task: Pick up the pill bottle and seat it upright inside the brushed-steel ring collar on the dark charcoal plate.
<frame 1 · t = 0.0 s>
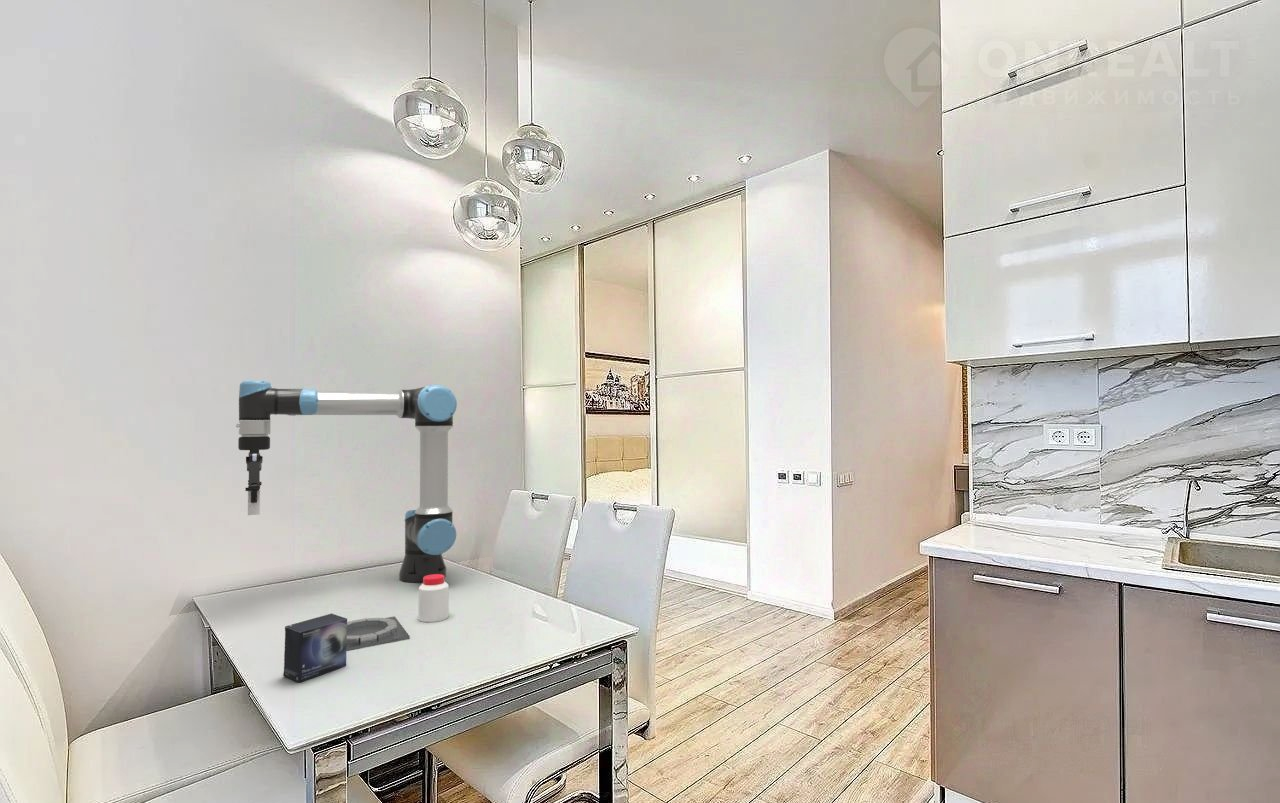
hand: (253, 511, 170), 28 cm above the table, fingers open, 13 cm apart
ring seat: (363, 635, 151), on the table
pill bottle: (433, 618, 164), on the table
small box: (315, 672, 129), on the table
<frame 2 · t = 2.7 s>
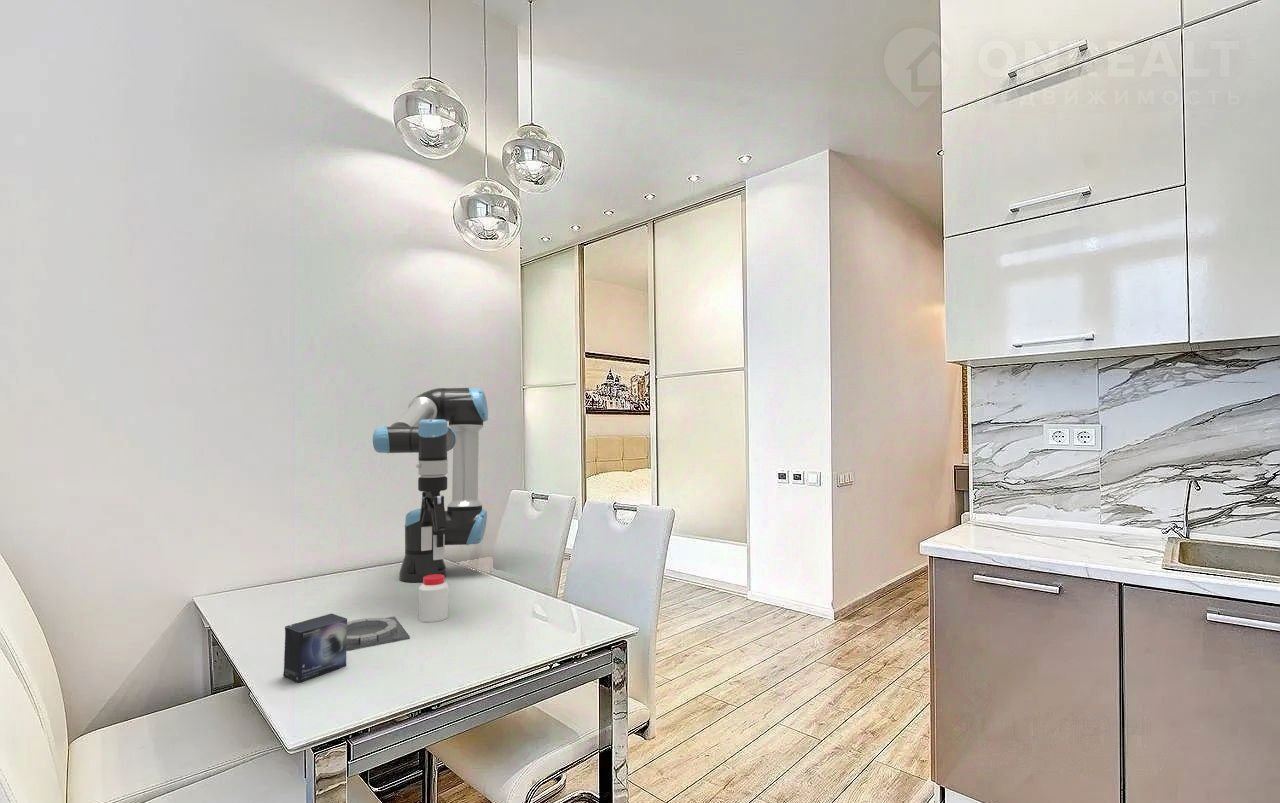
hand: (432, 554, 164), 17 cm above the table, fingers open, 13 cm apart
nothing on the table moved.
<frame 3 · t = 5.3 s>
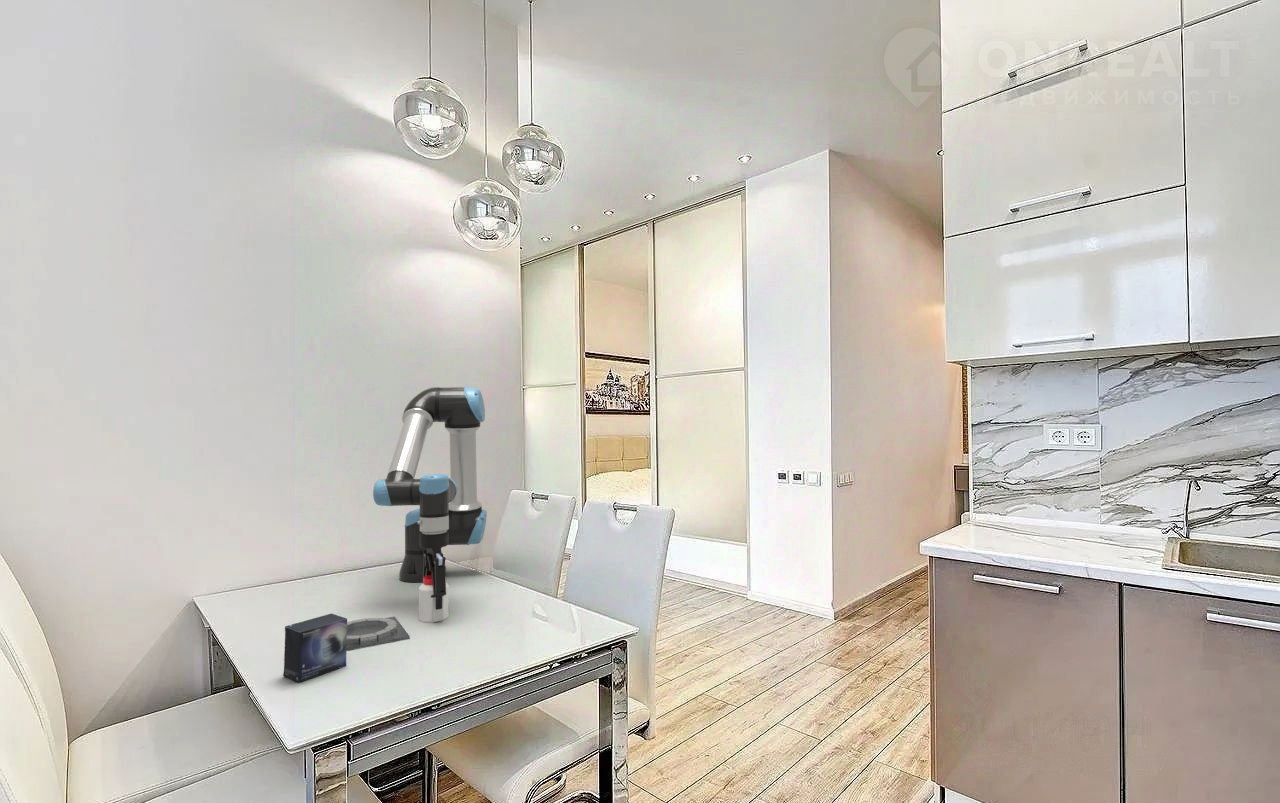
hand: (433, 616, 164), 0 cm above the table, fingers closed on pill bottle, 8 cm apart
pill bottle: (433, 618, 164), on the table, touching gripper
everything else where it was.
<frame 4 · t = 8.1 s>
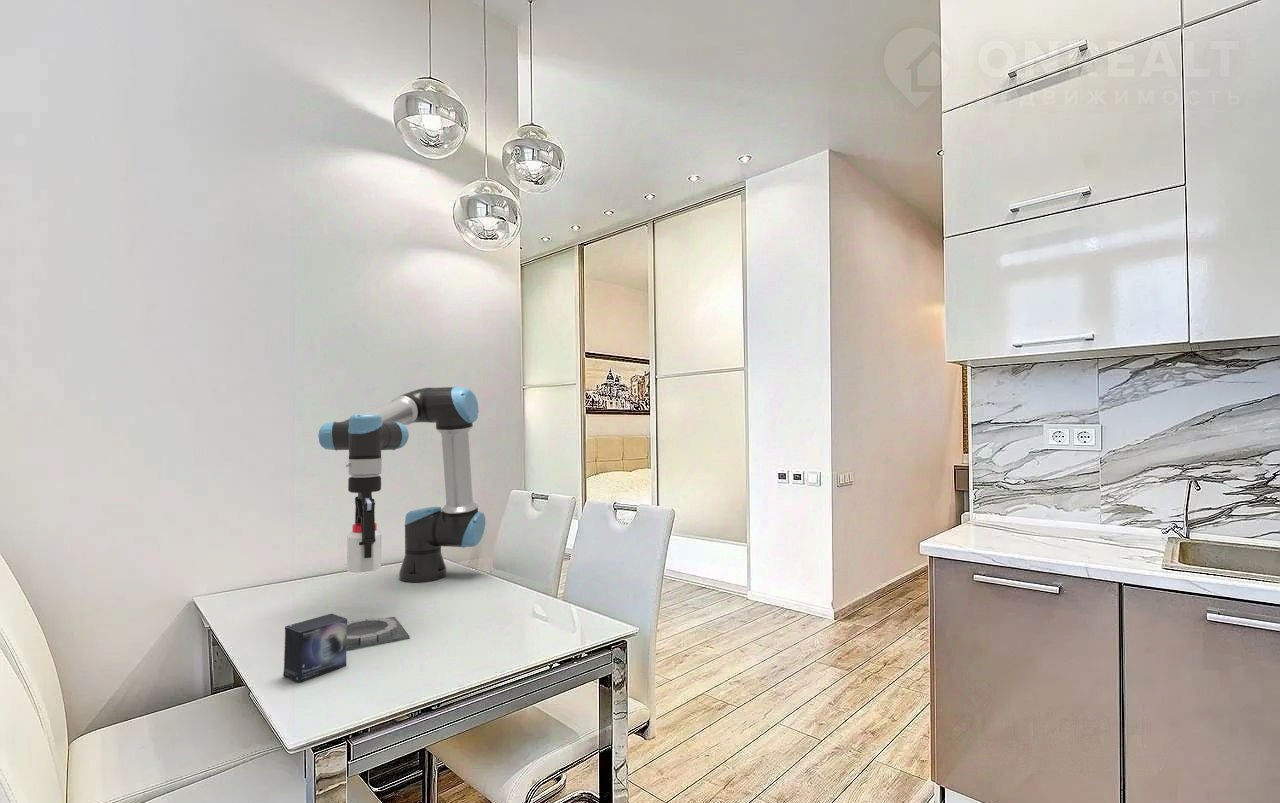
hand: (364, 567, 151), 17 cm above the table, fingers closed on pill bottle, 8 cm apart
pill bottle: (364, 569, 151), point 16 cm above the table, touching gripper
everything else where it was.
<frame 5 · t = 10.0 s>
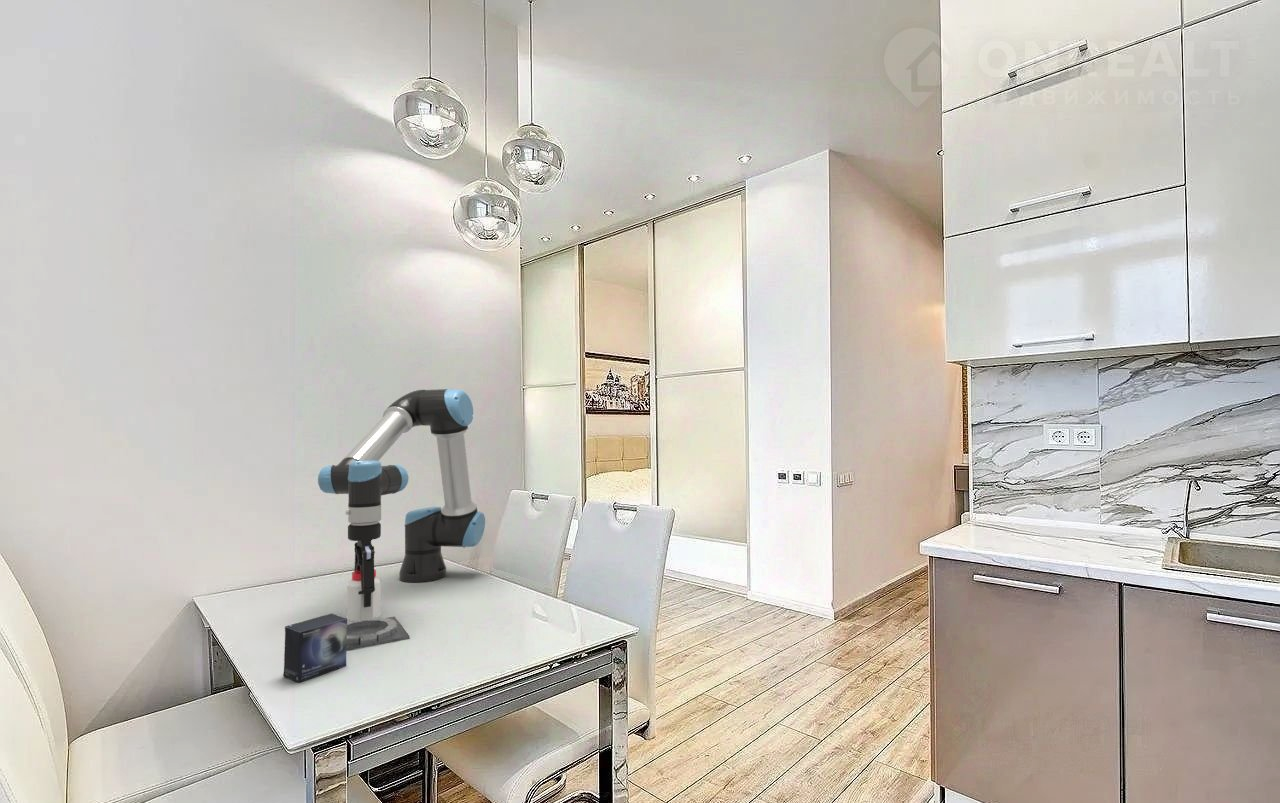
hand: (363, 614, 151), 5 cm above the table, fingers closed on pill bottle, 8 cm apart
pill bottle: (363, 616, 151), point 4 cm above the table, touching gripper
everything else where it was.
when the fingers open (3 cm above the table, at t = 11.3 s): pill bottle drops 2 cm, resting on ring seat.
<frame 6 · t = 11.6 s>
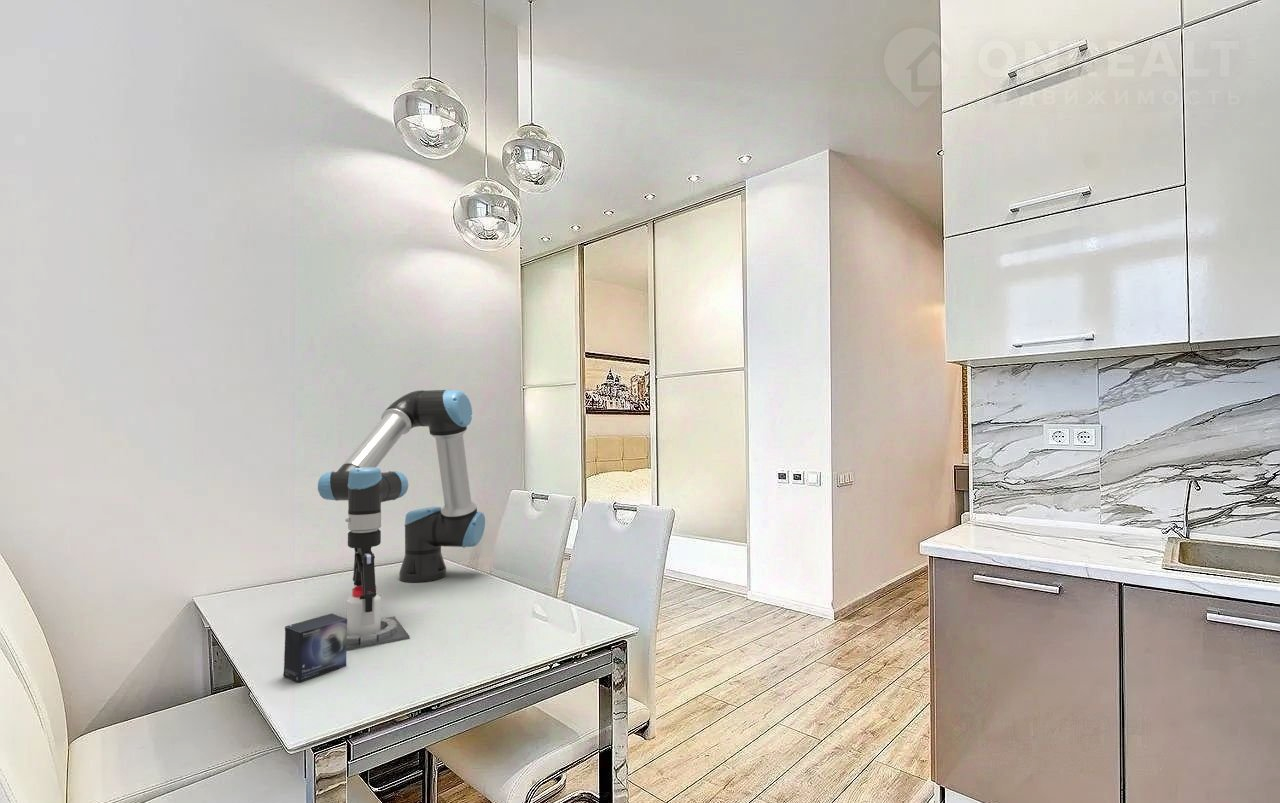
hand: (363, 618, 151), 4 cm above the table, fingers open, 11 cm apart
pill bottle: (363, 633, 151), resting on ring seat
everything else where it was.
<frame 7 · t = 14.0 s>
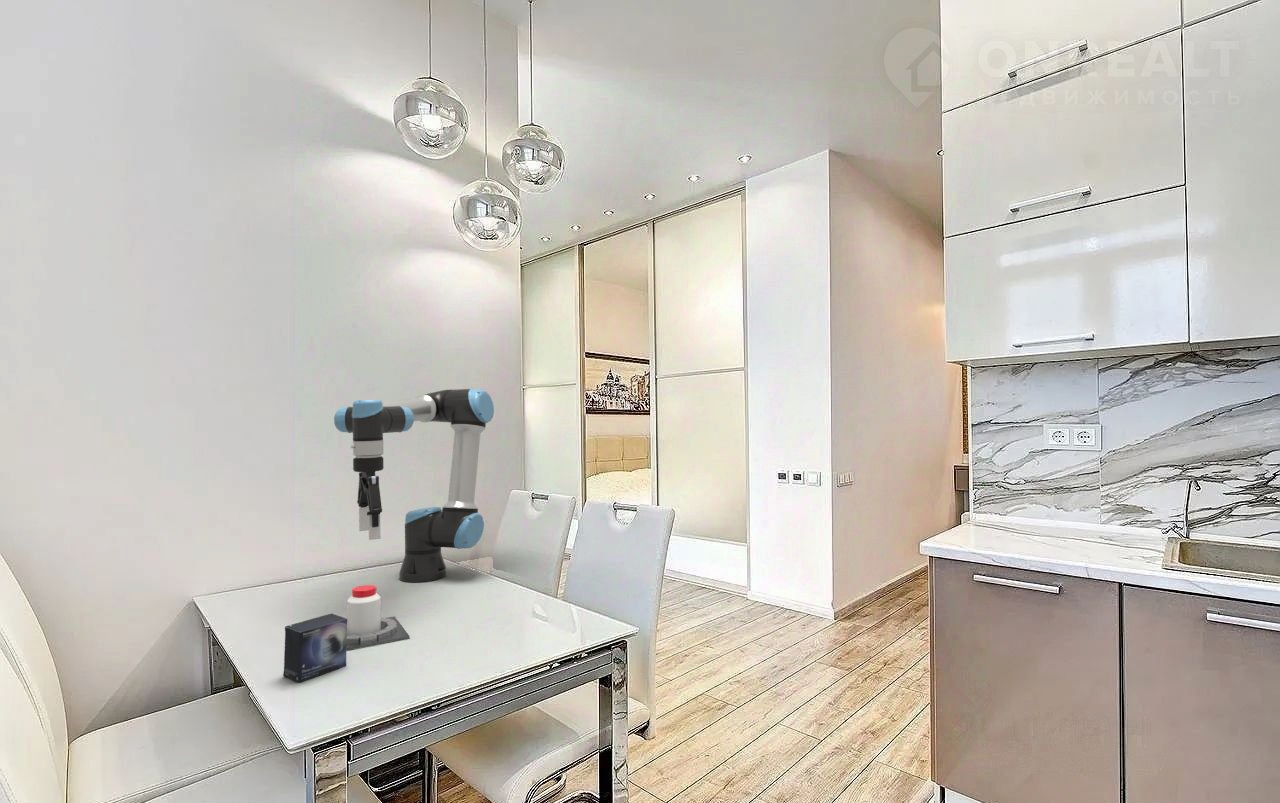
hand: (369, 534, 164), 22 cm above the table, fingers open, 13 cm apart
nothing on the table moved.
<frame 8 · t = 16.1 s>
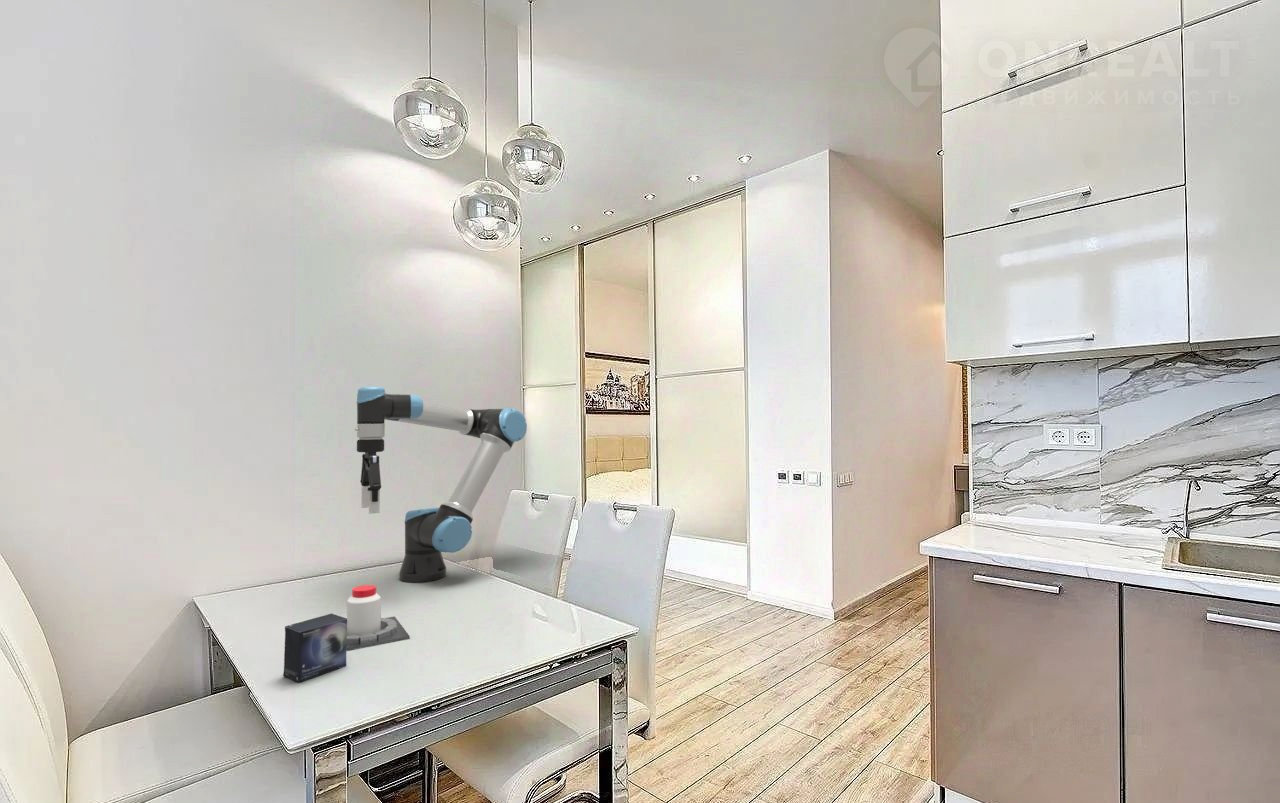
hand: (370, 510, 180), 27 cm above the table, fingers open, 13 cm apart
nothing on the table moved.
at the end: pill bottle 0.1 cm from the ring seat (horizontally); pill bottle tilted 0°; pill bottle resting on ring seat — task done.
